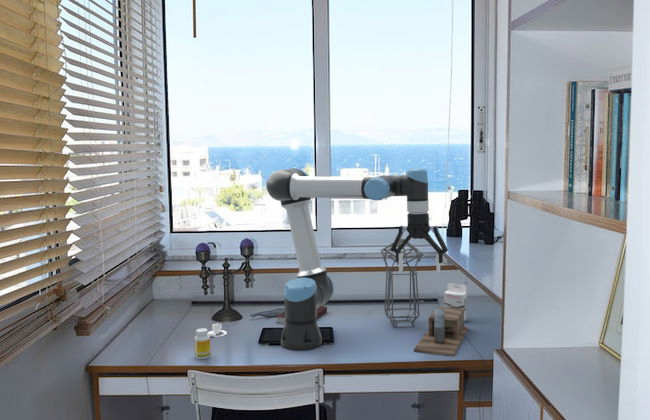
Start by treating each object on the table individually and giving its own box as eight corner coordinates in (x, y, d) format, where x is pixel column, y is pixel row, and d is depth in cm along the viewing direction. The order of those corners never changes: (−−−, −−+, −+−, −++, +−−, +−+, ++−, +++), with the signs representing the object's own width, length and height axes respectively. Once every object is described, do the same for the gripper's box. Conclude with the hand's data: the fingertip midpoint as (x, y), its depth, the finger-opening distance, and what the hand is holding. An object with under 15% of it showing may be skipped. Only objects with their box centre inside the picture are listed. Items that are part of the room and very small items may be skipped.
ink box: (443, 320, 249) (443, 285, 247) (446, 317, 253) (446, 282, 252) (463, 322, 245) (463, 287, 243) (466, 319, 249) (467, 284, 248)
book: (327, 313, 263) (327, 305, 263) (306, 327, 244) (306, 318, 243) (298, 310, 269) (298, 302, 269) (275, 324, 249) (275, 315, 249)
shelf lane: (454, 356, 207) (454, 333, 206) (413, 351, 212) (413, 329, 211) (468, 329, 236) (468, 309, 236) (432, 325, 242) (432, 306, 241)
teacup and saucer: (209, 339, 230) (208, 329, 230) (201, 334, 237) (200, 324, 237) (230, 335, 235) (230, 325, 235) (222, 330, 242) (221, 320, 241)
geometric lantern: (384, 330, 236) (384, 242, 233) (380, 319, 252) (380, 236, 248) (425, 329, 237) (425, 241, 233) (418, 318, 252) (418, 235, 248)
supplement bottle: (191, 357, 210) (190, 330, 209) (204, 353, 214) (203, 326, 213) (200, 360, 207) (199, 333, 206) (213, 356, 211) (212, 329, 210)
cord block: (446, 344, 216) (447, 311, 215) (430, 342, 218) (430, 310, 217) (457, 327, 236) (457, 297, 235) (441, 325, 238) (442, 295, 237)
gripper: (455, 211, 213) (456, 270, 215) (387, 211, 222) (388, 268, 225) (451, 213, 206) (452, 275, 208) (381, 213, 216) (383, 272, 218)
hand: (419, 271), depth 216 cm, fingers open, 13 cm apart
